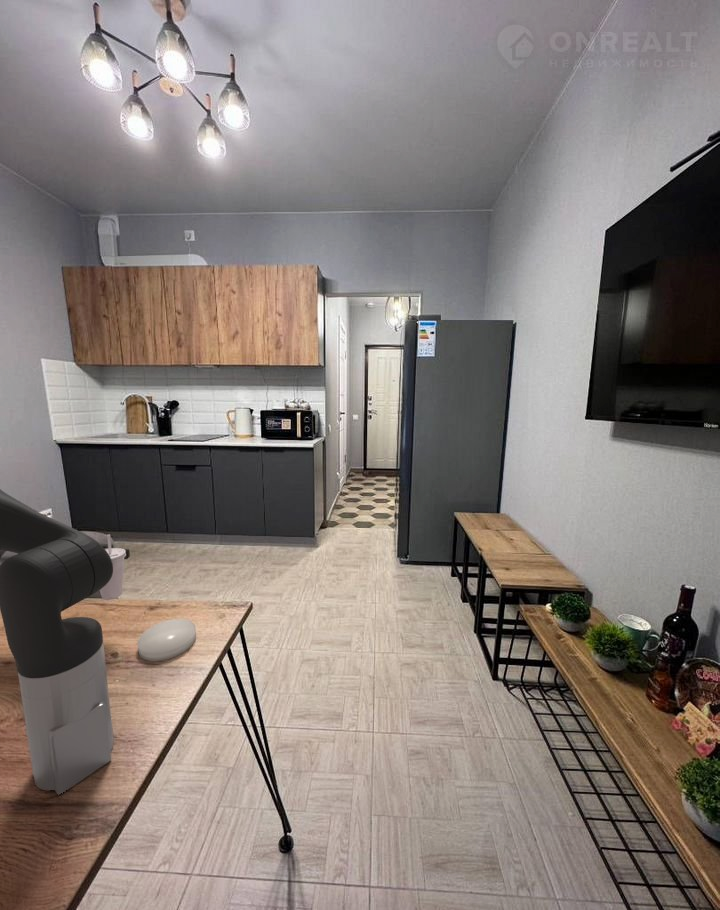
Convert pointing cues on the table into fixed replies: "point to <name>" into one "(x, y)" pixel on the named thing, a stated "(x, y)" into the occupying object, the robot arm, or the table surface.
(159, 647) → the trivet
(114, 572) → the smoothie
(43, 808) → the table surface
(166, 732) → the table surface
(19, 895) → the table surface
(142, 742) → the table surface
